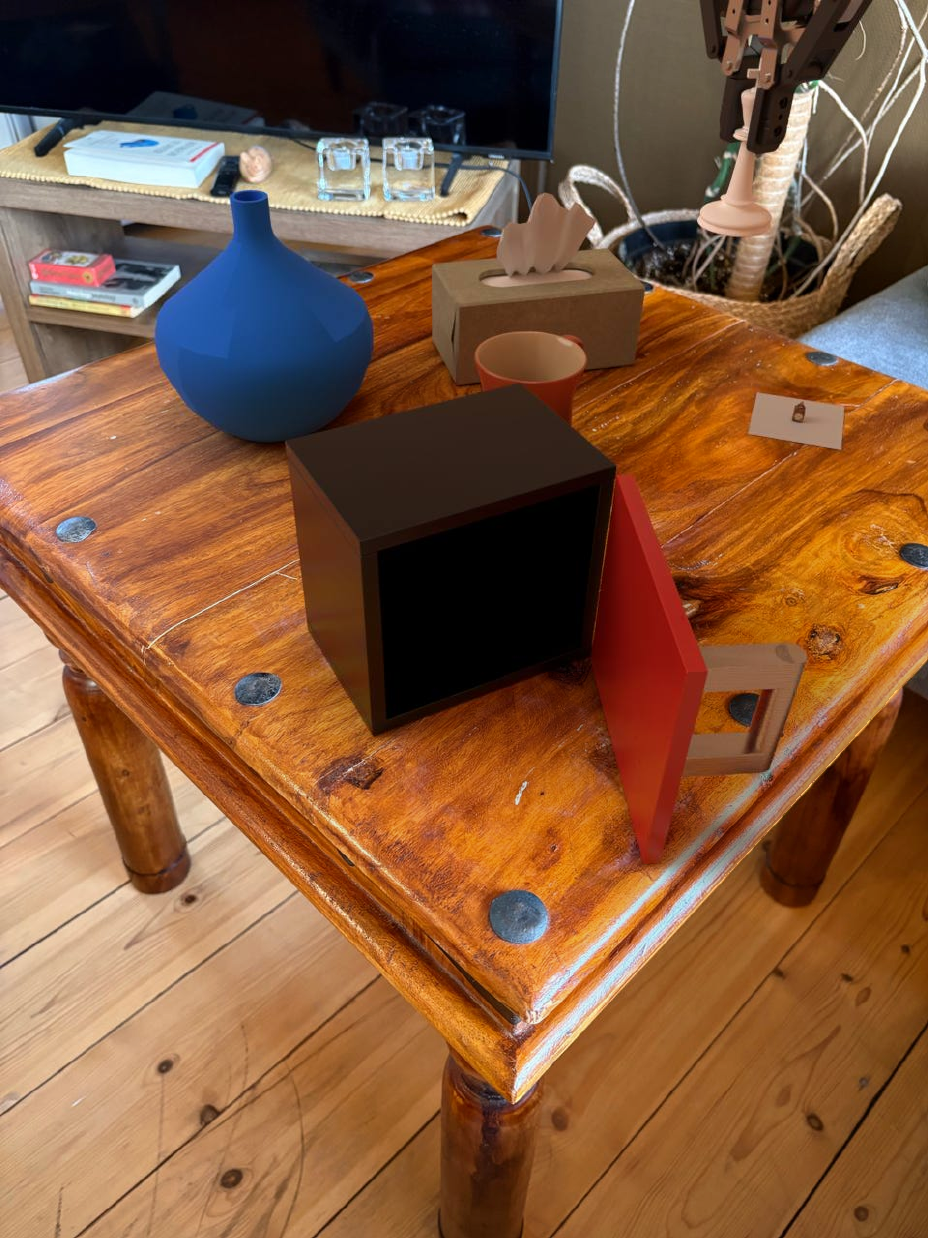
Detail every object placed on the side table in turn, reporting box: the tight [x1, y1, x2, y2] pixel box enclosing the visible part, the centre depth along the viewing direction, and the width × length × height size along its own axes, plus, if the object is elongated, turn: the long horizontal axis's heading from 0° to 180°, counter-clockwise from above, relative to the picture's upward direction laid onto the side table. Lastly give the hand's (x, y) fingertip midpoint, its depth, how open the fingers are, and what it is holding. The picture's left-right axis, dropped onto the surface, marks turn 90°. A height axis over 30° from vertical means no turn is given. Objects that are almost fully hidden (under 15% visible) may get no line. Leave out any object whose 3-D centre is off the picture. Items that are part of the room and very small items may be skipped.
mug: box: [474, 331, 587, 427], centre depth 81 cm, size 12×9×10 cm
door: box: [590, 473, 808, 865], centre depth 55 cm, size 7×16×15 cm, turn 5°
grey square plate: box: [747, 391, 845, 451], centre depth 90 cm, size 8×8×2 cm
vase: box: [154, 189, 375, 443], centre depth 83 cm, size 18×18×19 cm
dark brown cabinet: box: [284, 383, 618, 737], centre depth 62 cm, size 11×16×15 cm
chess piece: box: [696, 58, 773, 238], centre depth 64 cm, size 5×5×10 cm
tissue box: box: [431, 192, 646, 386], centre depth 94 cm, size 19×10×16 cm, turn 105°
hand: (748, 144), depth 64 cm, fingers closed on chess piece
